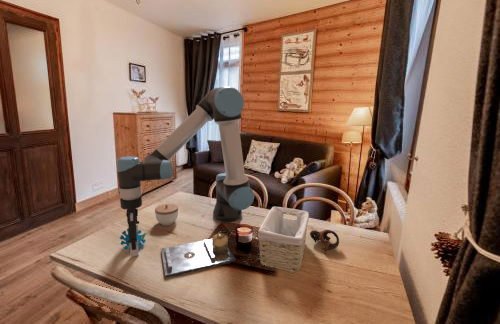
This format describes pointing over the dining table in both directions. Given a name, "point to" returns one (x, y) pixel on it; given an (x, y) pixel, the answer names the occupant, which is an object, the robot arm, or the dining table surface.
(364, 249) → the dining table surface
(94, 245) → the dining table surface
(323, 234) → the dark brown ring ornament
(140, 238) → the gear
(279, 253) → the storage basket
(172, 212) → the lidded jar
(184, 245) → the board
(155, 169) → the robot arm
